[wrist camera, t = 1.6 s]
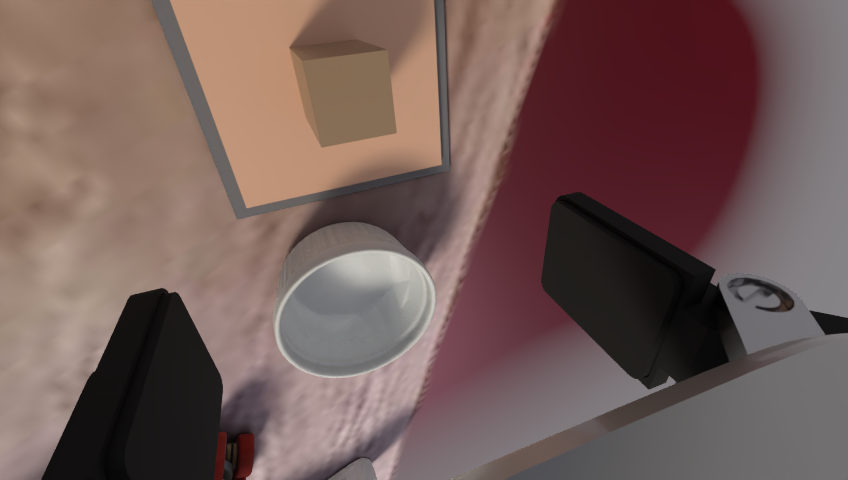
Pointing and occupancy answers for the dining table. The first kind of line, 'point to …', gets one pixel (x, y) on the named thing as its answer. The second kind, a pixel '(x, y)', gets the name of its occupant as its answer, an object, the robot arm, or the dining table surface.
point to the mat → (218, 151)
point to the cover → (317, 89)
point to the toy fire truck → (234, 457)
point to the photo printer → (356, 471)
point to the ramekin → (350, 301)
